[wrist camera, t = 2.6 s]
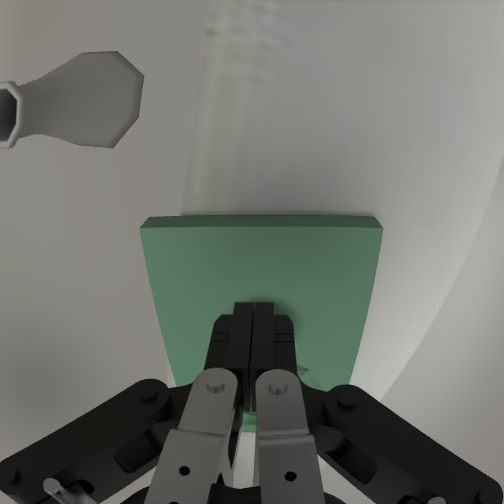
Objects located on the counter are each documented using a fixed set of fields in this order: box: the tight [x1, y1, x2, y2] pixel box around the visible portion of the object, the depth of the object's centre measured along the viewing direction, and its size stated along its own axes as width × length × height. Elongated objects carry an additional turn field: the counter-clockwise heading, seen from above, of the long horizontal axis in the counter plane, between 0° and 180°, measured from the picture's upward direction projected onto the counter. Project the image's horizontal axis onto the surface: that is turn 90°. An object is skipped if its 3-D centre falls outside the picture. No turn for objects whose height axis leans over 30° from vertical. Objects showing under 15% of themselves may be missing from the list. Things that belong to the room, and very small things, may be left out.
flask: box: [0, 51, 144, 149], centre depth 14 cm, size 7×7×10 cm
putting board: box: [140, 215, 383, 487], centre depth 19 cm, size 24×16×18 cm, turn 1°
